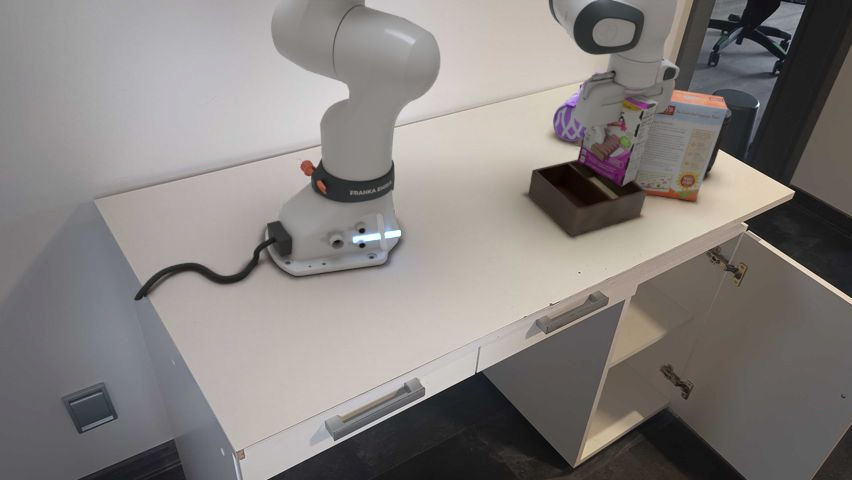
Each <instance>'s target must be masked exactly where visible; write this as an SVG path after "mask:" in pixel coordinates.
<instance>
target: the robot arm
mask: <svg viewBox="0 0 852 480" xmlns="http://www.w3.org/2000/svg"><path fill="white" fill-rule="evenodd" d="M677 6H678V0H548V7H549V11H550V14H551V16H552V17H553V19H554V20H555V21H556V22H557V23H558V24H559V25H560V26H561V27H562V28H563V29H564V30H565V32H566V33H567V34H568V36H569V37H570V38H571V40H572V41H573V42H574V44H575V45H576V46H577V47H578V48H580V49H581V51H583V52H584V53H586V54H590V55H593V56H594V55H595V56H599V55H609V57H608V58H609V59H608V63H607V67H606V71H604V72H600V73H601V74H595V73H594V74H592V75H591V78H590V77H589V79H588V78H587V79H588V80H587V79H586V80H587V81H586V82H585V83H584V82H583V83H584V86H583V88H582V90H581V93H580V95H579V98H578V101H577V104H576V108H575V112H574V118H575V119H576V121H577V122H578V123H580V124H581V125H582V126H584V127H585V128H590V127H595V130H596V132H597V133H596V137H595V140H596V142H597V143H599V144H602V143H606V142H607V139H608V136H609V135H608V134H607V133H605V131H604V128H607V124H608V123H613V122H618V121H619V118H620V114H621V110H622V106H623V103H624V102H623V99H625V98H629V97H634V96H640V95H644V96H646V97H648V98H650V99H652V100H654V101H656V102H658V106H657V109H656V113H660V112H664V111H665V110H666V108H667V107H668V106H669V104H670V101H671V98H672V95H673V91H674V90H675V86H676V81H675V79H678V77H679V74H680V71H681V70H680V67H678V66H677V65H676V64H674V63H673V62H672V61H670V60H668V59H667V58H664V53H665V49H664V47H665V43H666V40H667V38H668V37H669V35H670V33H671V30H672V27H673V23H674V19H675V15H676V10H677ZM270 32H271V39H272V42H273V45H274V47H275V49H276V51H277V52H278V54H279V55H280V56H282V57H283V58H284V59H286V60H288V61H289V62H291V63H293V64H294V65H296V66H298V67H300V68H301V69H303V70H305V71H306V72H310V73H313V74H316V75H319V76H322V77H325V78H328V79H331V80H335V81H338V82H341V83H343V84H345V85H346V86H347V88H348V98H345V99H342V100H339V101H336V102H335V103H333V104H331V105H330V106H329V107H327V109H326V110H325V112H324V113H323V115H322V116H321V119H320V123H319V132H320V133H319V134H320V148H321V149H320V150H321V158H320V160H319V163H318V164H317V166H315V165H314V164H313V162H312V161H311V160H309V159H305V160H303V161H301V163H300V166H299V168H300V170H301V171H302V172H303V174H304V176H307V177H310V182H309V183H308V184H305V186H304V187H302V189H300V190H299V191H298V192H296V193H295V194H294V195H292V196H291V197H290V198H289V199H287V200H285V202H283V203H282V205H281V207H280V209H279V213H278V219H277V220H276V221H271V222H268V223H267V222H266V229H265V233H264V234H265V235H264V238H265V239H264V241H262V242H261V243H259V244H258V245H257V246H256V247H255V249H254V250H253V254H252V255H253V256H252V258H251V260H250V261H249V263H248V264H247V265H246V267H245V268H244V269H242V271H239V272H238V273H235V274H230V275H221V274H219V273H216V272H215V271H213V270H212V269H210V268H209V267H208V266H205V265H203V264H201V263H197V262H183V263H178V264H173V265H170V266H166V267H165V268H162V269H161V270H159V271H157V272H155V273H154V274H153V275H152V276H151V277H150V278H149V279H148V280H147V281H146V282H145V283H144V284H143V285H142V286H141V288H140V289H139V290H138V292H137V293H136V295H135V296H134V298H133V299H134V301H136V302H137V301H142V299H143V298H144V297H145V296H146V294H147V292H149V290H150V289H151V288H152V287H153V286H154V284H156V283H157V282H158V281H159V280H160V279H162V278H163V277H165V276H166V275H168V274H171V273H174V272H177V271H182V270H188V269H192V270H198V271H199V272H201V273H203V274H205V276H208V277H209V278H211V279H213V280H215V281H217V282H218V281H219V282H225V283H228V282H235V281H238V280H241V279H244V278H245V277H247V276H248V275H249V273H251V271H252V270H253V269H254V268H255V266H256V265H257V264H258V262H259V260H260V257H261V252H262V251H264V249H266V250H267V252H268V253H269V255H270V257H271V258H272V260H273V261H274V263H275V264H276V265H277V266H278V267H279V268H280V269H281V270H283V271H284V272H286V273H288V274H289V275H292V276H295V277H301V276H310V275H317V274H324V273H331V272H338V271H344V270H351V269H352V270H353V269H359V268H366V267H373V266H380V265H384V264H385V263H386V262H387V260H388V257H389V253H390V251H391V250H392V249H393V248H395V246H396V245H397V243H398V242H399V240H400V237H401V235H402V232H401V229H400V227H399V224H398V222H397V221H398V220H397V217H396V213H395V206H394V198H393V197H394V196H393V191H394V190H395V180H396V179H395V178H396V175H395V162H394V160H393V145H394V134H395V127H396V122H397V119H398V118H399V115H400V114H401V112H402V111H403V109H404V108H406V106H407V105H408V104H410V103H412V102H413V101H416V100H418V99H420V98H422V97H423V96H424V95H426V94H427V93H428V92H429V91H430V90H431V89H432V87H433V86H434V84H435V83H436V81H437V79H438V76H439V74H440V69H441V51H440V47H439V44H438V41H437V39H436V36H434V34H433V33H432V32H431V31H428V30H427V29H425V28H424V27H421V26H420V25H418V24H416V23H414V21H413V22H412V21H411V20H409V19H407V18H405V17H402V16H399V15H397V14H392V13H389V12H385V11H381V10H378V9H375V8H372V7H368V6H366V0H280V1H279V2H278V4H277V5H276V7H275V9H274V11H273V13H272V17H271V22H270ZM656 113H655V114H656Z"/></svg>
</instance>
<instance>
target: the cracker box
mask: <svg viewBox="0 0 852 480" xmlns="http://www.w3.org/2000/svg"><path fill="white" fill-rule="evenodd" d="M727 108H728V105H727V104H726V101H725V98H724V97H723V96H719V95H712V94H706V93H700V92H692V91H686V90H679V89H674V91H673V95H672V98H671V101H670V104H669V106H668V107H667V108H666V110H665V111H664V112H660V113H656V114H655V116H654V119H653V122H652V125H651V129H650V132H649V135H648V139H647V142H646V145H645V149H644V152H643V155H642V158H641V162H640V165H639V169H638V172H637V175H636V178H635V180H633V181H634V182H635V183H637V184H638V185H639V186H641V187H642V188H643V189H644V190H646V191H647V194H646V195H653V196H659V197H666V198H672V199H679V200H686V201H692V202H695V201H696V200H697V197H698V194H699V192H700V189H701V186H702V183H703V180H704V179H705V178H704V175H705V172H706V169H707V166H708V164H709V161H710V158H711V155H712V152H713V149H714V147H715V144H716V141H717V138H718V135H719V132H720V129H721V126H722V124H723V121H724V118H725V115H726V112H727V110H728V109H727Z"/></svg>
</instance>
